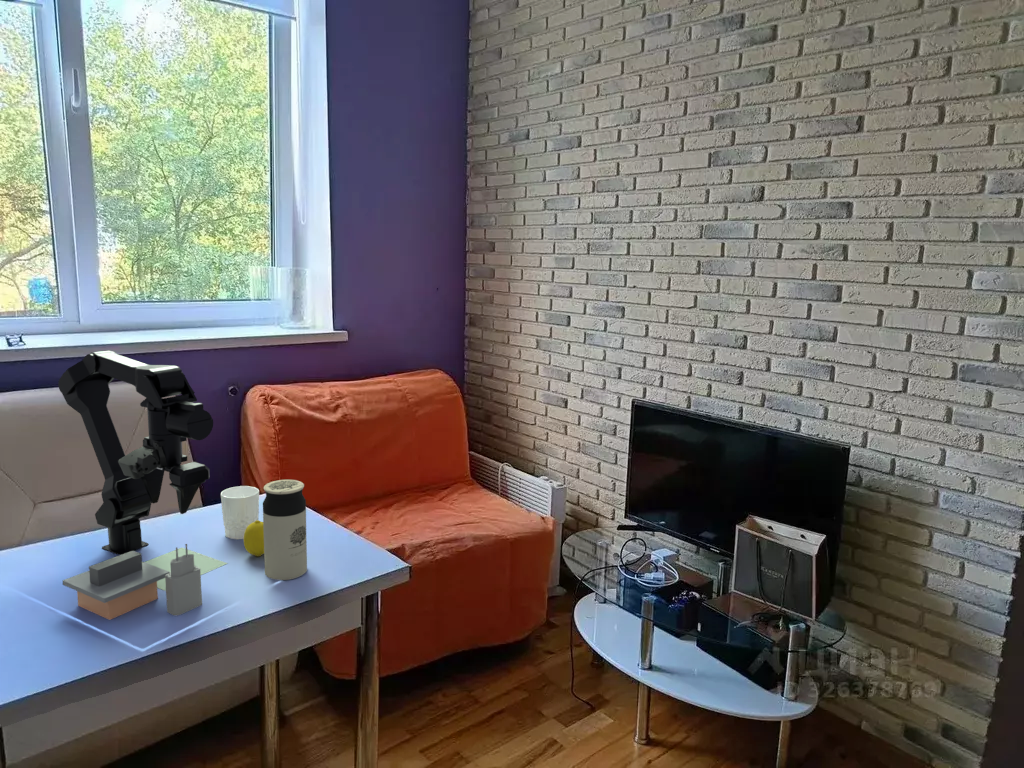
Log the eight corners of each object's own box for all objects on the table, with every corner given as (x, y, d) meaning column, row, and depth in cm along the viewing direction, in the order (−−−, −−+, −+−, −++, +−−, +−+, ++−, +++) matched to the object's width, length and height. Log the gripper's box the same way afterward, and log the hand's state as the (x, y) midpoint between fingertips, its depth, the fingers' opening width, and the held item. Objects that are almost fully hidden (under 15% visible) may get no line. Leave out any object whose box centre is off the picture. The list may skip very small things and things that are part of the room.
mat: (118, 574, 139) (118, 572, 139) (182, 549, 152) (182, 547, 151) (165, 592, 133) (164, 590, 133) (227, 565, 145) (227, 563, 145)
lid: (62, 584, 125) (61, 564, 124) (128, 560, 135) (126, 541, 135) (104, 603, 119) (103, 581, 119) (169, 575, 130) (168, 556, 129)
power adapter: (204, 605, 129) (201, 542, 126) (176, 618, 124) (172, 553, 122) (193, 601, 130) (189, 538, 128) (165, 613, 126) (161, 548, 123)
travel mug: (257, 571, 142) (254, 484, 139) (293, 560, 148) (291, 476, 145) (278, 585, 137) (275, 495, 134) (314, 572, 143) (313, 486, 140)
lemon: (263, 564, 146) (262, 526, 144) (238, 560, 147) (237, 523, 146) (277, 553, 151) (276, 517, 150) (253, 550, 152) (252, 514, 151)
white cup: (252, 542, 156) (251, 498, 154) (216, 541, 156) (214, 497, 154) (265, 528, 164) (264, 486, 162) (230, 527, 164) (229, 485, 162)
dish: (78, 607, 126) (76, 583, 126) (126, 587, 134) (125, 565, 133) (109, 621, 122) (107, 597, 121) (157, 600, 130) (156, 577, 129)
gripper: (96, 431, 137) (101, 509, 140) (154, 449, 128) (159, 532, 131) (151, 420, 147) (155, 493, 150) (209, 436, 137) (212, 514, 140)
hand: (168, 508), depth 142 cm, fingers open, 9 cm apart
